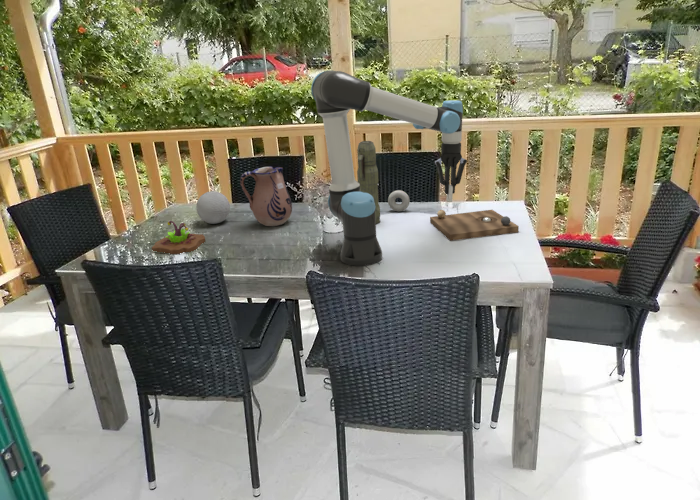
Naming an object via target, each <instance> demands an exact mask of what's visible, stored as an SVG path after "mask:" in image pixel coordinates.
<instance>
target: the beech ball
mask: <svg viewBox="0 0 700 500" xmlns="http://www.w3.org/2000/svg"><path fill="white" fill-rule="evenodd" d="M436 214H437V215H436V216H438V217H439V218H444V217H445V215H447V214H446V211H445V210H444V209H440V210H438V211H437V213H436Z"/></svg>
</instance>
